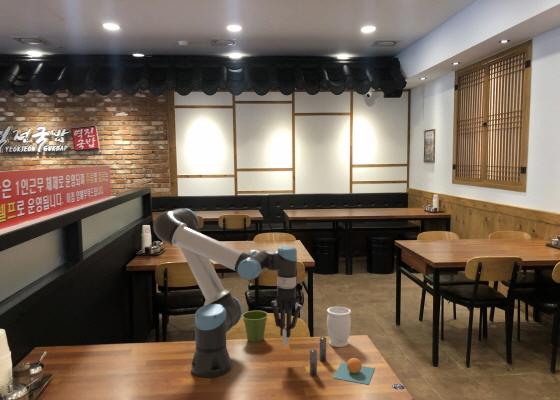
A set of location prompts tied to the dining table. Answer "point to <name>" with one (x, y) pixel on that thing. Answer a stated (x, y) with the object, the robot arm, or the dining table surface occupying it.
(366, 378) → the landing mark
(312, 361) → the post
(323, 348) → the post
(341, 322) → the jar
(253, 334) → the plant pot
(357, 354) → the dining table surface
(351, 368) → the ball
